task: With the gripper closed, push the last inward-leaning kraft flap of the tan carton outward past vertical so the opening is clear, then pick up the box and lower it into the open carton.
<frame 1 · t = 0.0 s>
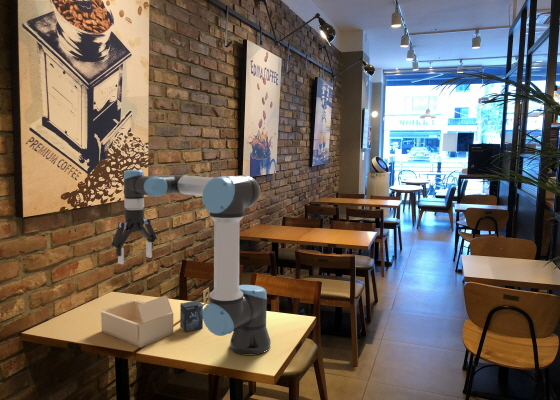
hand: (135, 260, 180), 28 cm above the table, fingers open, 13 cm apart
carton: (137, 332, 177), on the table
flap: (155, 308, 170), point 12 cm above the table, hinge at 28.0°
box: (191, 328, 183), on the table
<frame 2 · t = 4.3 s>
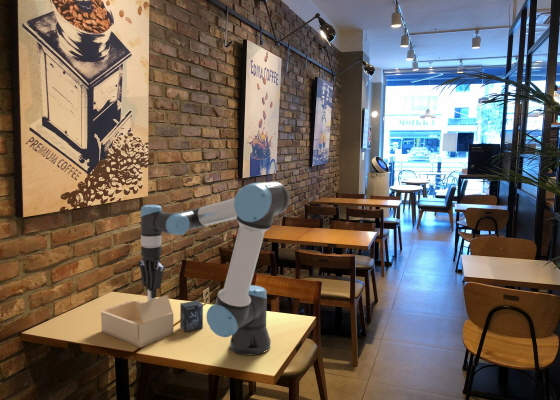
hand: (151, 305, 171), 13 cm above the table, fingers closed
flap: (155, 308, 170), point 12 cm above the table, hinge at 24.7°, touching gripper
everything else where it was.
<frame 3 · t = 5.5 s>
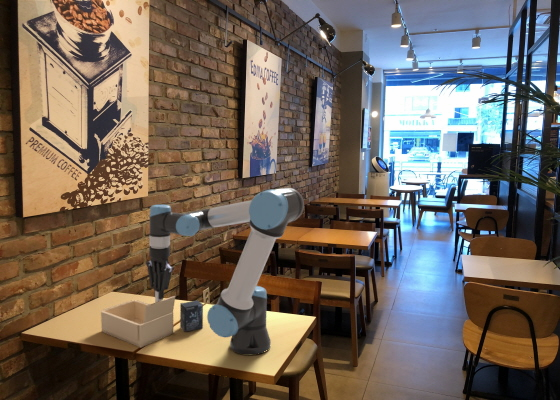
hand: (158, 306, 168), 14 cm above the table, fingers closed
flap: (159, 309, 168), point 13 cm above the table, hinge at -12.1°, touching gripper
everything else where it was.
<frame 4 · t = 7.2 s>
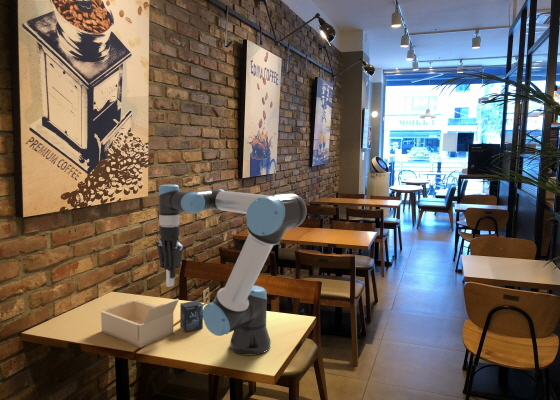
hand: (170, 285, 171), 21 cm above the table, fingers closed
flap: (161, 310, 168), point 12 cm above the table, hinge at -29.2°
everything else where it was.
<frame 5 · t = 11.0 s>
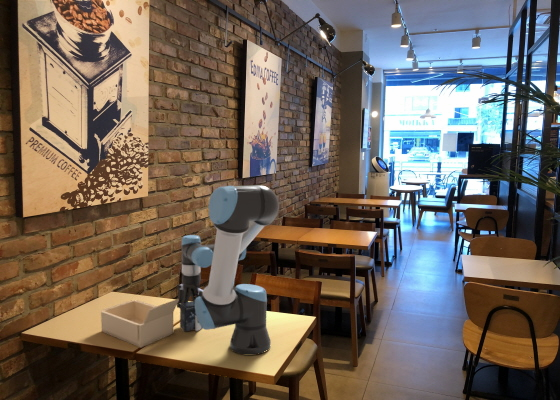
hand: (191, 327, 183), 0 cm above the table, fingers closed on box, 7 cm apart
flap: (161, 310, 168), point 12 cm above the table, hinge at -29.6°
box: (191, 328, 183), on the table, touching gripper
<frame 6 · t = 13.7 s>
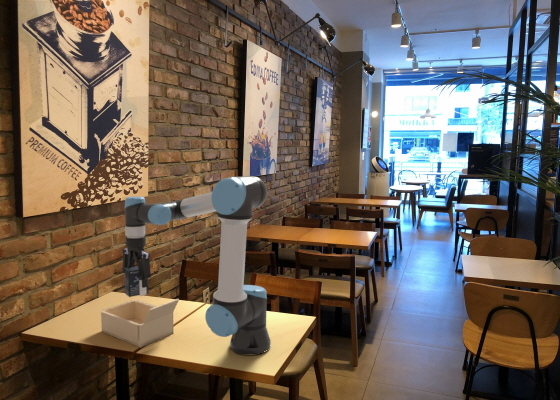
hand: (136, 293, 175), 16 cm above the table, fingers closed on box, 7 cm apart
box: (137, 294, 175), point 16 cm above the table, touching gripper
everything else where it was.
when the fingers open (2 cm above the table, at t = 16.5 s): box stays where it is, resting on carton.
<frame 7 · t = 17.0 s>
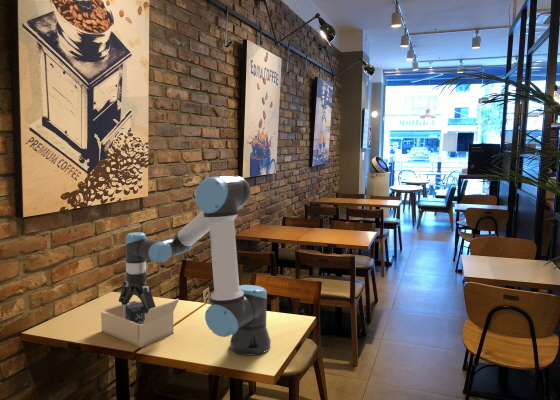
hand: (137, 323, 177), 4 cm above the table, fingers open, 13 cm apart
box: (137, 330, 177), point 1 cm above the table, touching carton
everything else where it was.
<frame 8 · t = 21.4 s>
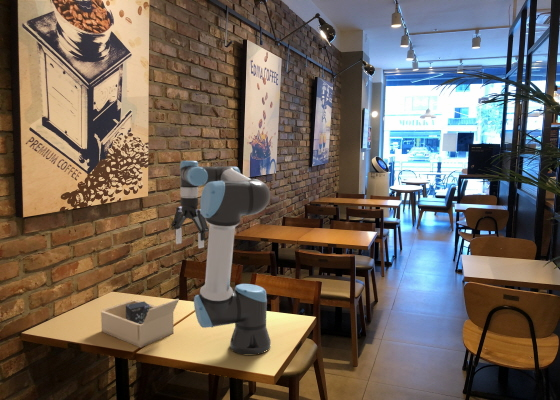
hand: (189, 245, 192), 32 cm above the table, fingers open, 13 cm apart
nothing on the table moved.
at the end: flap at -30° (first picture: +28°); box inside the target area on the carton (0.2 cm from its centre), point 0.8 cm above the carton's base; box tilted 0° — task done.
